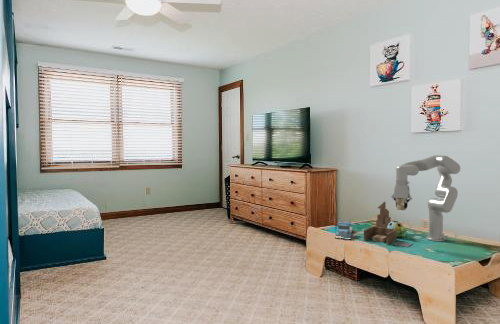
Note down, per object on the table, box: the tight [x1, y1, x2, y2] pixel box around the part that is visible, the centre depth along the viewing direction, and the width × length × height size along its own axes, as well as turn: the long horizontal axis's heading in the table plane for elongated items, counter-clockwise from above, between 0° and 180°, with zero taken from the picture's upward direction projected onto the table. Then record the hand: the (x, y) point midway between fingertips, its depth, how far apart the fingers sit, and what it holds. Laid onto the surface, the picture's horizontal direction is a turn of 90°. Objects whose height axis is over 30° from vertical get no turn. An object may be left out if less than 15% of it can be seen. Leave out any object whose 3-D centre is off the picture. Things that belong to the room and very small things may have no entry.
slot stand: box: [363, 225, 398, 246], centre depth 273 cm, size 18×17×8 cm
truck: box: [334, 217, 354, 240], centre depth 290 cm, size 12×29×15 cm, turn 162°
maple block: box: [396, 198, 407, 211], centre depth 261 cm, size 5×5×8 cm
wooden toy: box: [375, 201, 393, 228], centre depth 300 cm, size 16×7×25 cm, turn 40°
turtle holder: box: [387, 220, 407, 238], centre depth 282 cm, size 12×18×12 cm
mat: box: [392, 241, 413, 248], centre depth 261 cm, size 10×10×1 cm
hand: (401, 207), depth 261 cm, fingers closed on maple block, 5 cm apart
